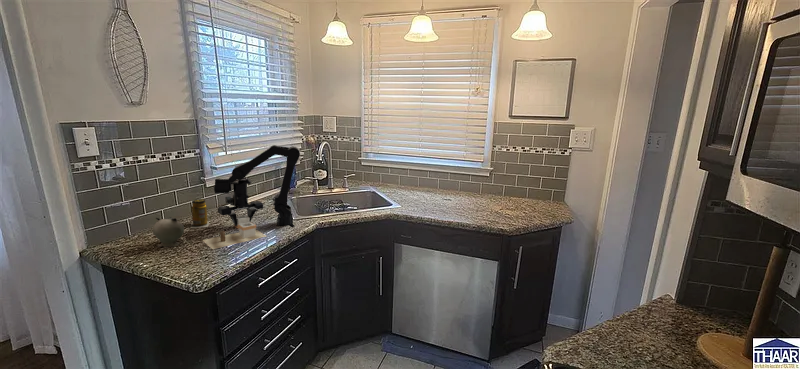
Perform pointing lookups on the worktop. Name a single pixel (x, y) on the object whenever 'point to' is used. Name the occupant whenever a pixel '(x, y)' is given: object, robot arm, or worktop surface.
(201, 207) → the condiment
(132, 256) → the worktop surface
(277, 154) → the robot arm
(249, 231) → the seated sleeve
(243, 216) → the sleeve
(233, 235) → the pin board
